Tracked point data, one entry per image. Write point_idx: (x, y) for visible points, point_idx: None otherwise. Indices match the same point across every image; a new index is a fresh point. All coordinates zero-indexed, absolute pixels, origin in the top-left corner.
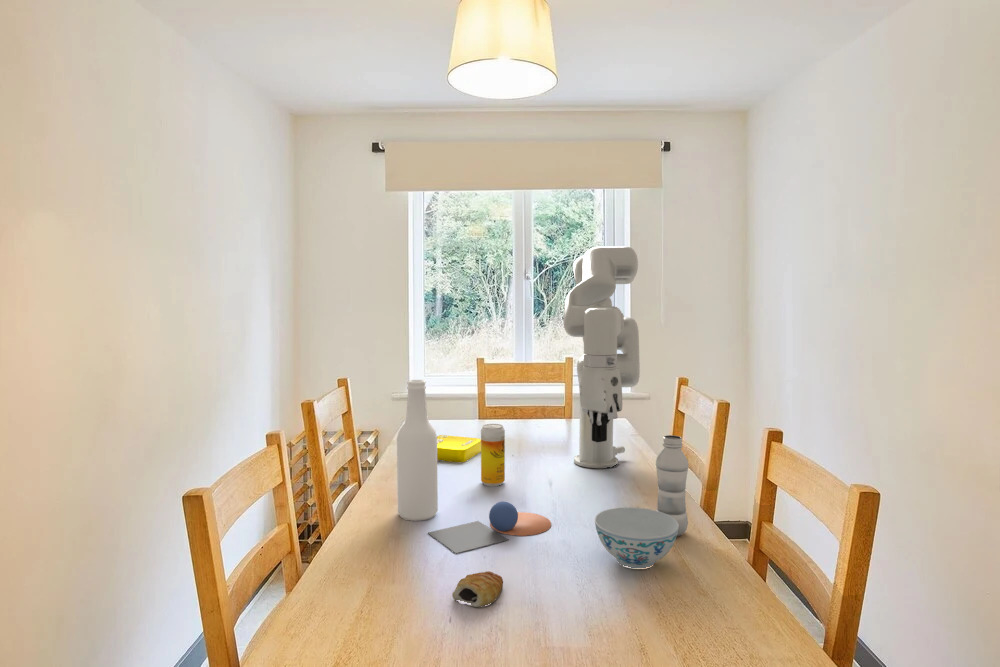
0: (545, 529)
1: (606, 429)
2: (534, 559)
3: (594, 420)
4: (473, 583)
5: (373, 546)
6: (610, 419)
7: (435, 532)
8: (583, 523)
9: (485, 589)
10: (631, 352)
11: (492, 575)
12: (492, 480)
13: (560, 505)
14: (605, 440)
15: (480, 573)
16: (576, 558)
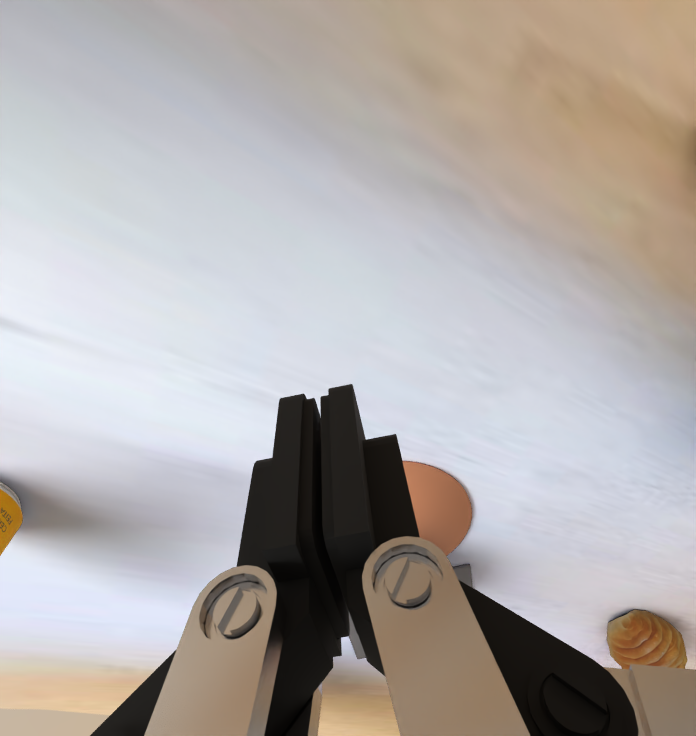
0: (461, 491)
1: (363, 469)
2: (586, 549)
3: (315, 693)
4: None
5: (376, 707)
6: (567, 647)
7: (362, 650)
8: (468, 384)
9: (682, 658)
10: None
11: (645, 642)
12: (15, 528)
13: (279, 384)
14: (353, 393)
15: (642, 662)
16: (644, 485)
